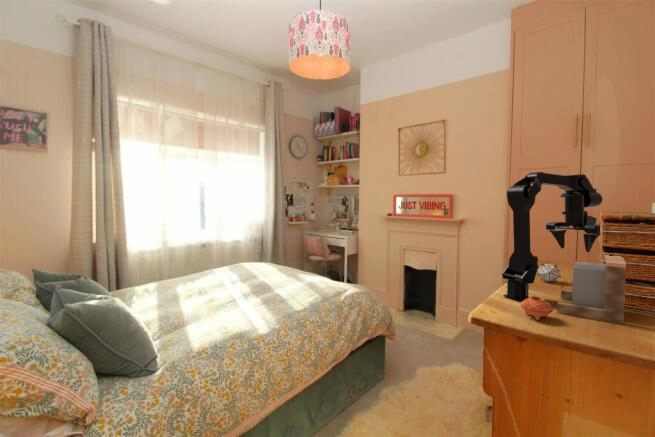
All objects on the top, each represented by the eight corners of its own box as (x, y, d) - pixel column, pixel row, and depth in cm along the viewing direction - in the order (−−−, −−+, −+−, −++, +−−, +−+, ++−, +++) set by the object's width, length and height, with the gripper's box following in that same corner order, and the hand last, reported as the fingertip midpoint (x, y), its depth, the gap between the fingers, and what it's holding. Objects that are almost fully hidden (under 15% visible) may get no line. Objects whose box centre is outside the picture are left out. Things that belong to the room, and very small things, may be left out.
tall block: (571, 312, 98) (573, 267, 97) (573, 302, 106) (574, 261, 105) (610, 318, 92) (612, 271, 91) (609, 308, 100) (611, 264, 100)
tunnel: (557, 312, 97) (558, 258, 96) (561, 297, 111) (562, 250, 110) (623, 324, 88) (626, 264, 87) (619, 306, 102) (621, 254, 100)
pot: (538, 310, 99) (543, 291, 97) (555, 326, 91) (561, 306, 89) (513, 310, 99) (517, 291, 97) (528, 326, 91) (533, 305, 89)
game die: (554, 291, 131) (571, 275, 125) (534, 284, 131) (551, 268, 125) (546, 276, 138) (562, 260, 132) (527, 269, 138) (543, 253, 132)
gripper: (618, 207, 110) (619, 251, 112) (565, 206, 128) (566, 244, 129) (595, 209, 107) (596, 255, 109) (544, 208, 125) (545, 247, 126)
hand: (574, 250), depth 118 cm, fingers open, 9 cm apart
